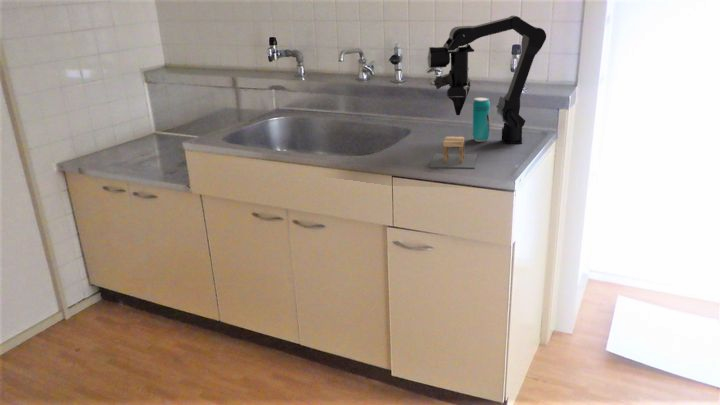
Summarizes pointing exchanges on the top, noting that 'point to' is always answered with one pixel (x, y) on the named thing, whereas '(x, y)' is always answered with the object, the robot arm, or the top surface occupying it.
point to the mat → (454, 161)
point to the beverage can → (481, 119)
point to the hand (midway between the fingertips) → (459, 111)
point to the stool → (453, 143)
